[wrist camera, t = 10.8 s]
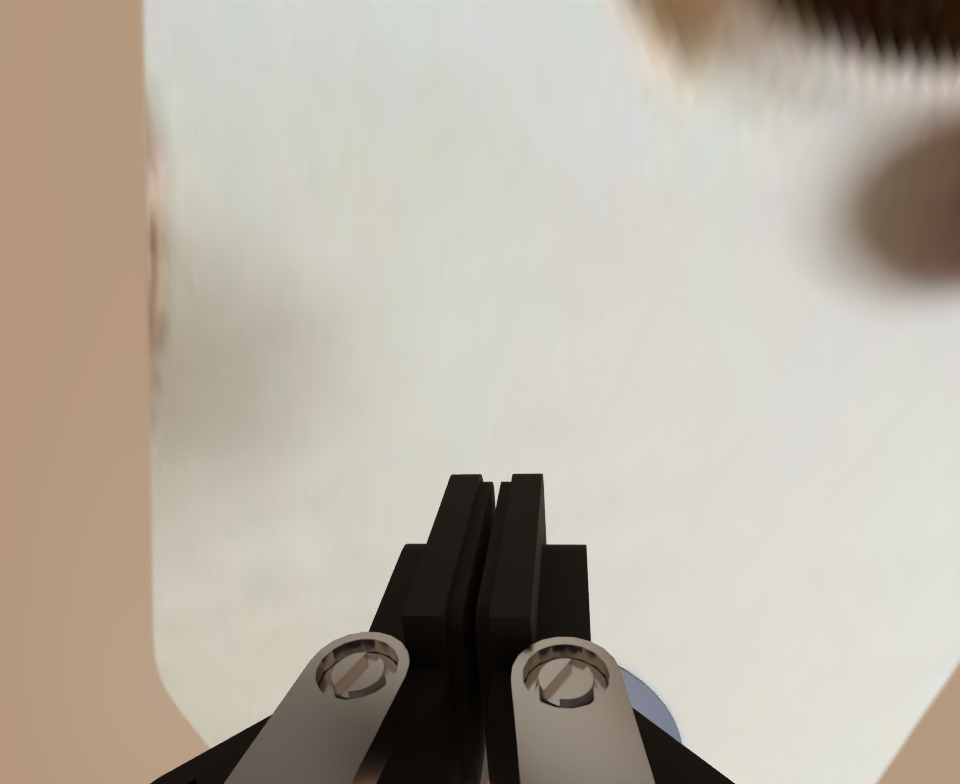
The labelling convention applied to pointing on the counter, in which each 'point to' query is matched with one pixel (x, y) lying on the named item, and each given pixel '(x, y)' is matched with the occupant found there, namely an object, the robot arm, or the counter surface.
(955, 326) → the counter surface
